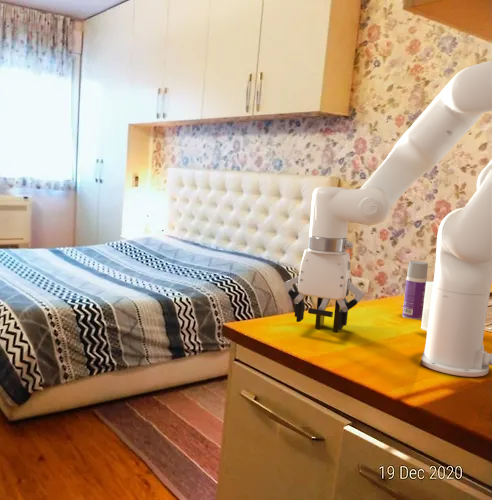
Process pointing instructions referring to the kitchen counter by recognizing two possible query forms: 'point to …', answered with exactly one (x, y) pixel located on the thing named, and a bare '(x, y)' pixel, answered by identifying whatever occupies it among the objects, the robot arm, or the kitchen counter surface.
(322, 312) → the lever
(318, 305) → the bracket
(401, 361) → the kitchen counter surface
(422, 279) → the container
